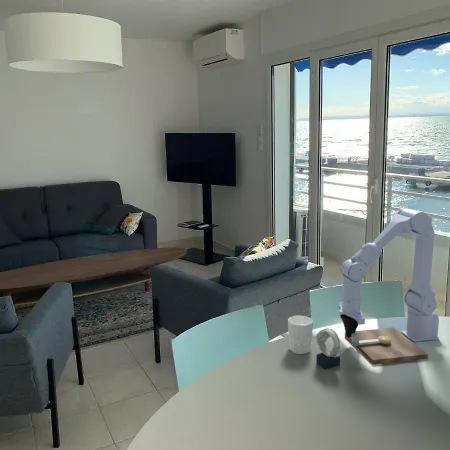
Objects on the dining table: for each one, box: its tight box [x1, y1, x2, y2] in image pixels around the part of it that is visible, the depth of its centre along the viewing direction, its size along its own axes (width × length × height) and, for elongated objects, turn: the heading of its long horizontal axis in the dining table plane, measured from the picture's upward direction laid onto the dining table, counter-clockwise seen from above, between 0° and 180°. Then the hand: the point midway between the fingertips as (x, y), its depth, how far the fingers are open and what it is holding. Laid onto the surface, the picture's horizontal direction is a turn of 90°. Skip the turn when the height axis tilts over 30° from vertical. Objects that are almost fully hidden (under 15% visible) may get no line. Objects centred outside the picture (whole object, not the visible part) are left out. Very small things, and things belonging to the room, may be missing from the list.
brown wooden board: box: [344, 327, 429, 365], centre depth 152 cm, size 18×20×2 cm
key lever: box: [350, 333, 391, 347], centre depth 151 cm, size 13×4×3 cm, turn 100°
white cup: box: [287, 315, 314, 355], centre depth 151 cm, size 8×8×10 cm
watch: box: [315, 328, 341, 370], centre depth 141 cm, size 6×8×11 cm
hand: (350, 336), depth 154 cm, fingers closed
